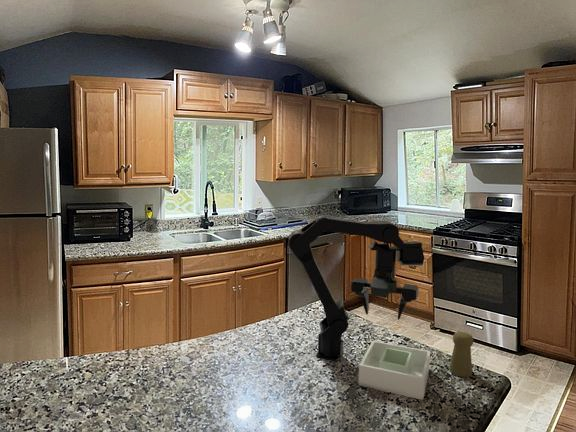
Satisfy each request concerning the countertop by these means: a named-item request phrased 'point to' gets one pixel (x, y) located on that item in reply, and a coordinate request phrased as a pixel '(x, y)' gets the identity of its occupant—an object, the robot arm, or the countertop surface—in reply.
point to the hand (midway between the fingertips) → (382, 316)
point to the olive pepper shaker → (461, 355)
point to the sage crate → (396, 360)
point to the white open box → (394, 380)
